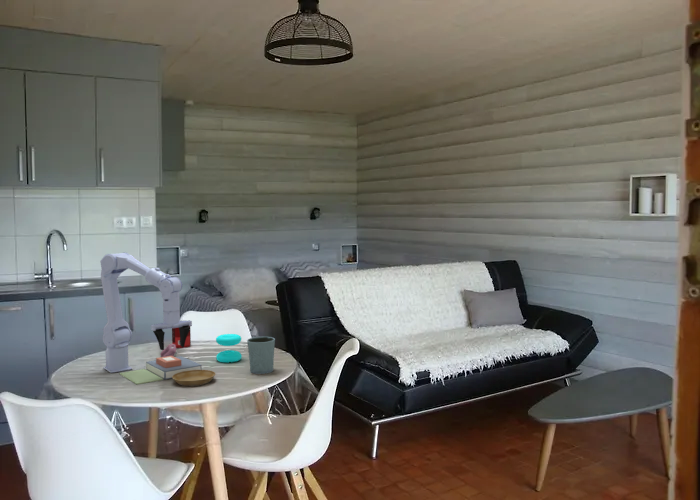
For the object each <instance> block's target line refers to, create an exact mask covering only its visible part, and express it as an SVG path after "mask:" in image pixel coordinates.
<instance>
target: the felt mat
mask: <svg viewBox="0 0 700 500" xmlns="http://www.w3.org/2000/svg"><path fill="white" fill-rule="evenodd" d="M118 374H119V375H120V376H122V377H123V378H125V379H127V380H128V381H130V382H132V383H133V384H135V385H137V386H138V385H143V384H148V383H154V382H159V381H163V380H164V379H163V378H161V377H159V376H157V375H155V374H154V373H152V372H150V371H148V370H146V368H142V369H141V368H140V369H136V370H135V369H134V370H130V371H129V370H127V371H121V372H118Z"/></svg>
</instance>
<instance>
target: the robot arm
mask: <svg viewBox="0 0 700 500" xmlns="http://www.w3.org/2000/svg"><path fill="white" fill-rule="evenodd" d="M100 267H101V271H100V279H101V286H102V292H103V293H102V294H103V299H104V307H105V313H106V318H107V319H106V320H107V323H106V324H105V325H104V326H103V329H102V330H103V334H102V342H103V344H104V346H105V347H106V350H105V366H103V369H104V370H106V371H108V372H109V373H113V374H114V373H117V372H118V373H120V372H126V371H129V370H130V371H132V370H133V367H131V366H130V365H129V345H130V342H131V341H132V338H133V333H132V332H133V331H132V330H131V329H130V325H129V322H127V321H126V320H125V319H124V315H123V310H122V303H121V296H120V290H119V283H118V278H119V276H120V275H121V274H122V273H124V272H125V271H127V270H128V269H129V270H131V271H133V272H135V273H136V274H139V275H141V276H143V277H145V281H146V282H147V283H149V284H151V285H152V286H154V287H155V288H158V289H159V292H160V294H161V298H162V314H163V317H162V319H163V321H162V322H160V323H156V324H155V323H154V324H151V325H150V331H152V333H153V334H154V335H155V337H156V340H157V342H158V347H159V350H161V351H163V350H164V349H165V335H166V334H165V333H166V332H165V331H164V330H168V329H172V328H178V327H179V332H180V346H181V347H184V346H185V341H186V338H187V335H188V333H189V331H190V332H191V327H192V325H193V321H192V320H186V321H181V317H180V316H181V313H180V312H181V310H180V305H181V304H180V292H181V291H182V290H183V281H182V280H181V279H180V278H179V277H178V276H171V275H170V274H169V273H165V272H164V271H162V270H161V268H160V267H152V268H150V267H148V266H147V265H146V264H144V263H142V262H141V261H140V260H138V259H136V258H135V257H134V255H132V254H130V253H128V252H126V251H125V252H121V253H119V252H118V253H106V254H105V255H104V256H103V257H102V258H101V260H100ZM172 326H173V327H172ZM189 326H190V327H189Z"/></svg>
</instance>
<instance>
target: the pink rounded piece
mask: <svg viewBox="0 0 700 500" xmlns="http://www.w3.org/2000/svg"><path fill="white" fill-rule="evenodd" d="M177 354H178V353H177V348H176V345H175V344H172V343H169V344H168V345H167V346H166V347H164V350H161V352H160V357H166V356H173V357H175V355H177Z"/></svg>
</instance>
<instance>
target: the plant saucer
mask: <svg viewBox="0 0 700 500" xmlns="http://www.w3.org/2000/svg"><path fill="white" fill-rule="evenodd" d="M216 375H217V373H216V372H215V371H213V370H209V369H202V370H189V371H183V372H179V373H176V374H174V375H173V376H172V378H171V379H173V381H174V382H175V383H177V384H178V385H180V386H185V387H195V386H196V387H197V386H202V385H205V384H208V383H210V382H211V381H212V380H213V379H214V378H215V376H216Z"/></svg>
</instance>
